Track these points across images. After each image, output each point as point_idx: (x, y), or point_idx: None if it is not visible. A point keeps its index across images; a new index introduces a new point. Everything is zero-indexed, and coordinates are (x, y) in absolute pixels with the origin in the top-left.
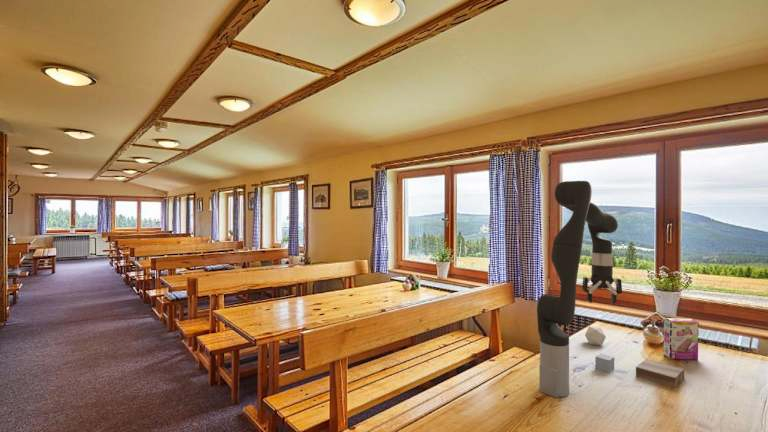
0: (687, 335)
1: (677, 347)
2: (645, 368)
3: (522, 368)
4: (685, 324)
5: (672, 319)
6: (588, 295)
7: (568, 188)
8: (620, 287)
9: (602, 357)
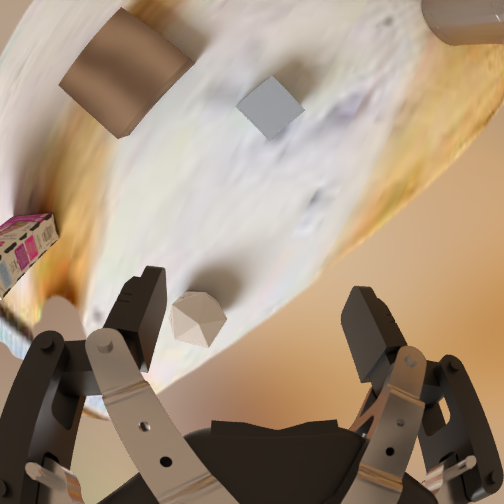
0: None
1: (23, 226)
2: (164, 52)
3: (467, 133)
4: None
5: None
6: (400, 337)
7: None
8: (21, 396)
9: (283, 101)
